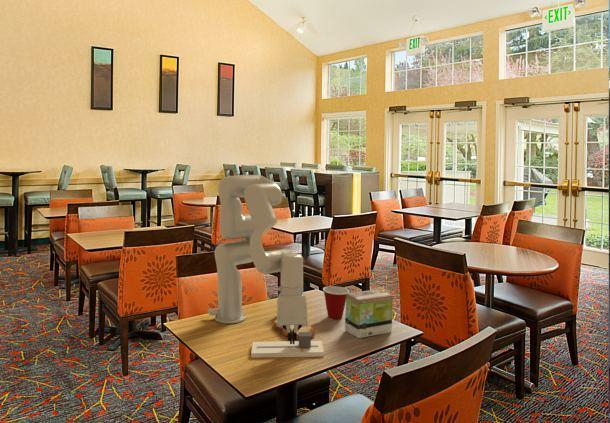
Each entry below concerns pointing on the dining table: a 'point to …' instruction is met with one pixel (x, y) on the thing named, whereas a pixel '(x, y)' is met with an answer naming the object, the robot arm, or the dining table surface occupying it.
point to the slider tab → (304, 340)
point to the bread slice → (302, 329)
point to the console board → (285, 349)
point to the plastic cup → (335, 301)
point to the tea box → (368, 313)
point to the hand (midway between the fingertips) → (292, 342)
